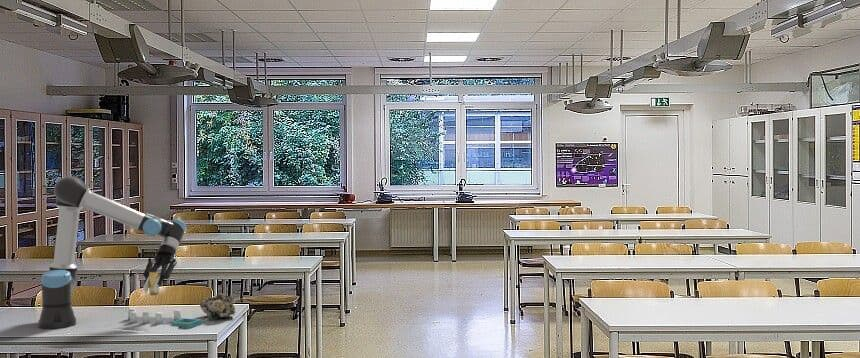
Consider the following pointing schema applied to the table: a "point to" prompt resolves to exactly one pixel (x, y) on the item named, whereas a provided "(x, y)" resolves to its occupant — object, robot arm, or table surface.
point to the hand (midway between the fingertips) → (149, 290)
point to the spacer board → (151, 318)
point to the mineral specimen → (218, 306)
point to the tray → (187, 325)
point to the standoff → (153, 282)
